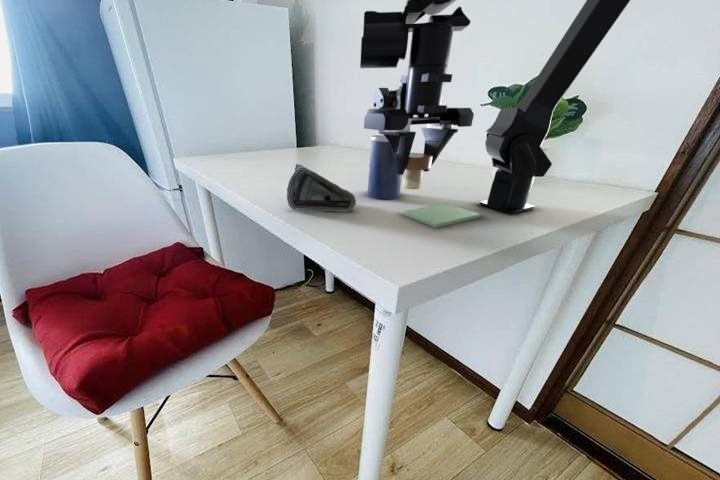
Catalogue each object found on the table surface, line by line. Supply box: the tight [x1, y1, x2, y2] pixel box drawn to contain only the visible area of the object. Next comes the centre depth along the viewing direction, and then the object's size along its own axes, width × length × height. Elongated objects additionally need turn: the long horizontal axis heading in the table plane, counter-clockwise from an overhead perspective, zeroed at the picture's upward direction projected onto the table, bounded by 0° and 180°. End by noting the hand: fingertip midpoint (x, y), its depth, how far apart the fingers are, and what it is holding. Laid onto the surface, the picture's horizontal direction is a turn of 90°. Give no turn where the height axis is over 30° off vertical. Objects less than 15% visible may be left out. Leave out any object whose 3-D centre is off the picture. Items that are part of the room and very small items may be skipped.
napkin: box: [403, 202, 481, 229], centre depth 50 cm, size 10×7×1 cm
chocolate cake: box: [286, 163, 357, 213], centre depth 56 cm, size 10×7×12 cm
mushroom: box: [401, 152, 432, 190], centre depth 54 cm, size 6×6×6 cm
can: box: [367, 134, 403, 200], centre depth 59 cm, size 6×6×11 cm
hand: (413, 172), depth 54 cm, fingers closed on mushroom, 5 cm apart
